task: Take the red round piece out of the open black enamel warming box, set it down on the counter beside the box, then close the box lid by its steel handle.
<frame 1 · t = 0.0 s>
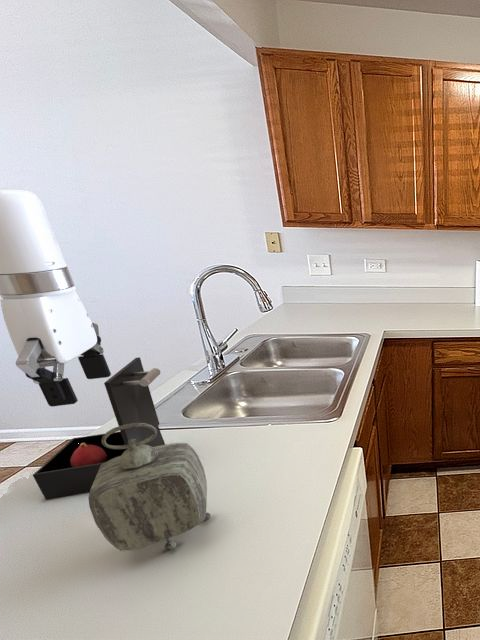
hand: (83, 390, 63), 31 cm above the table, tool pointing down, fingers open, 9 cm apart
tabletop clock: (172, 542, 73), on the table
black shallow rectangular box: (111, 471, 92), on the table
warmer lid: (147, 404, 89), point 16 cm above the table, hinge at 93.0°
red round piece: (95, 473, 91), resting on black shallow rectangular box
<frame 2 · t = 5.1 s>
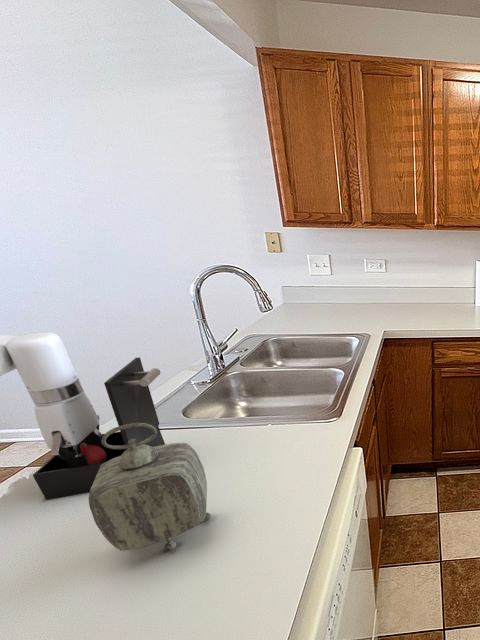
hand: (90, 461, 90), 3 cm above the table, tool pointing down, fingers closed on red round piece, 5 cm apart
red round piece: (95, 473, 91), resting on black shallow rectangular box, touching gripper
everything else where it was.
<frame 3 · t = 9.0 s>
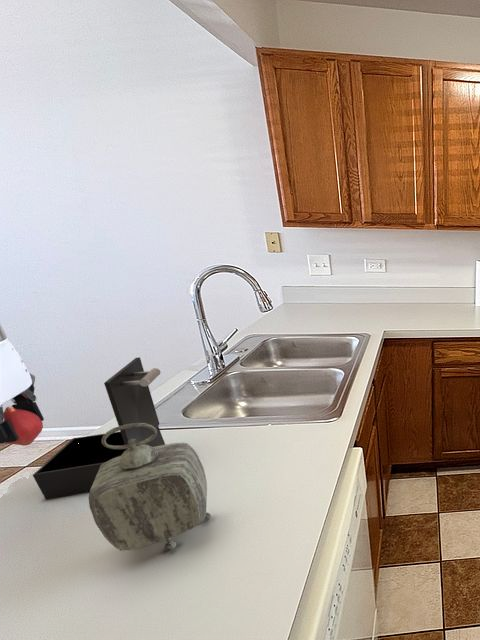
hand: (20, 430, 72), 20 cm above the table, tool pointing down, fingers closed on red round piece, 5 cm apart
red round piece: (28, 445, 73), point 17 cm above the table, touching gripper
everything else where it was.
when the fingers open (3 cm above the table, at t = 13.1 s): red round piece stays where it is, on the table.
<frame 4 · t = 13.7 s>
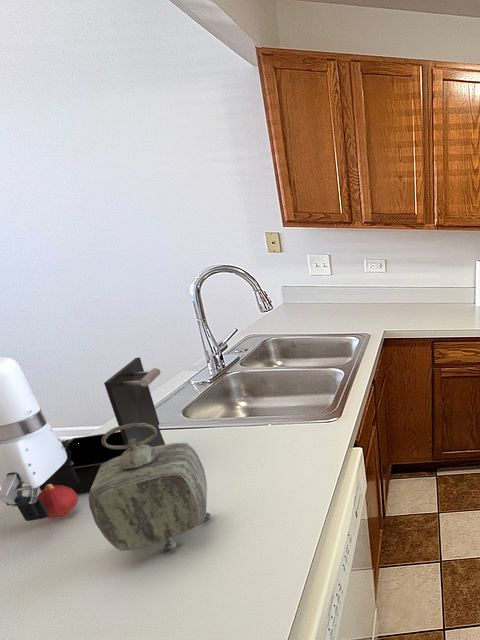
hand: (54, 500, 77), 4 cm above the table, tool pointing down, fingers open, 9 cm apart
red round piece: (64, 517, 79), on the table
everything else where it was.
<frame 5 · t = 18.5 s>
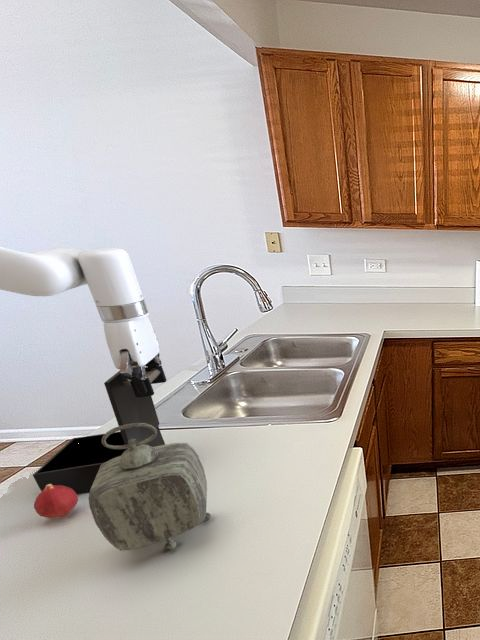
hand: (151, 388, 88), 19 cm above the table, tool pointing down, fingers closed on warmer lid, 6 cm apart
warmer lid: (147, 404, 89), point 16 cm above the table, hinge at 93.0°, touching gripper
everything else where it was.
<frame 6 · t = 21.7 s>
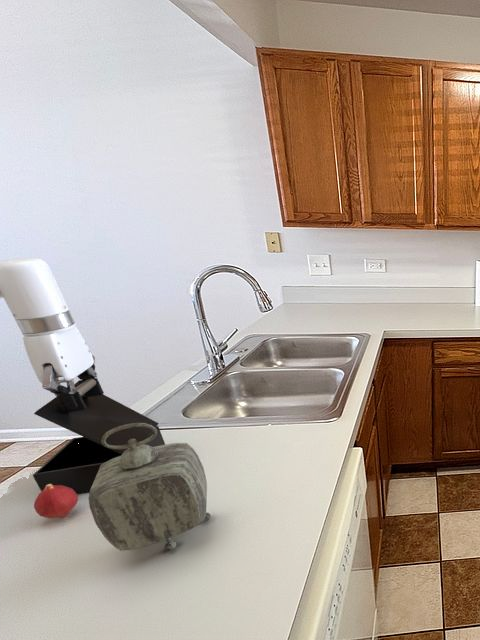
hand: (86, 402, 85), 18 cm above the table, tool pointing down, fingers closed on warmer lid, 6 cm apart
warmer lid: (110, 411, 87), point 15 cm above the table, hinge at 48.4°, touching gripper
everything else where it was.
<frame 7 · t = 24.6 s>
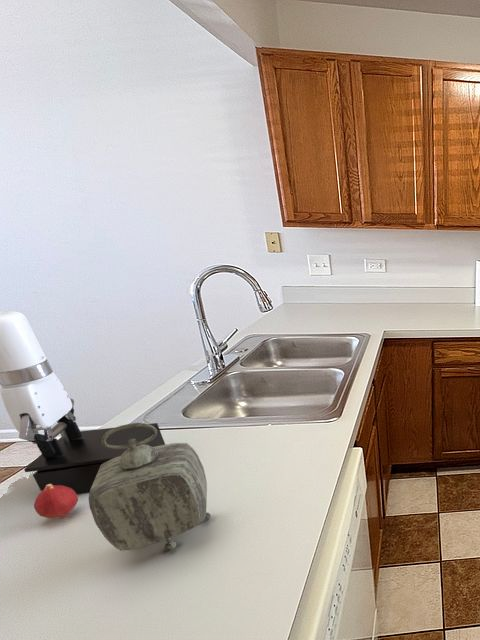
hand: (64, 446, 87), 8 cm above the table, tool pointing down, fingers closed on warmer lid, 6 cm apart
warmer lid: (94, 436, 88), point 10 cm above the table, hinge at 2.6°, touching gripper
everything else where it was.
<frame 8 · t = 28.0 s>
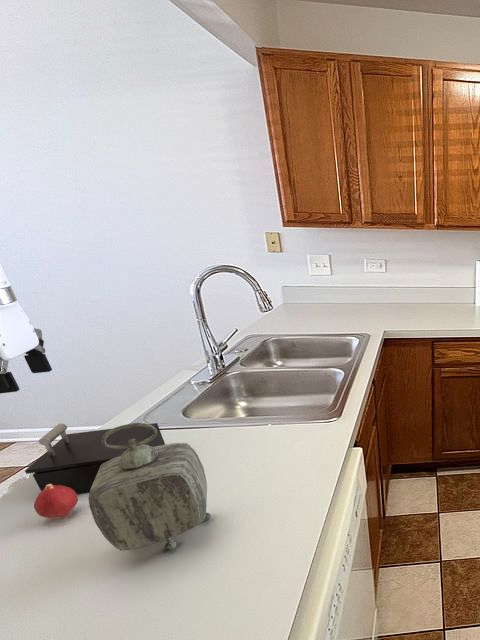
hand: (26, 381, 80), 24 cm above the table, tool pointing down, fingers open, 9 cm apart
warmer lid: (94, 436, 88), point 10 cm above the table, hinge at 1.4°
everything else where it was.
at the end: red round piece inside the target area (0.0 cm from its centre), on the table; warmer lid at +1° (first picture: +93°) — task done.
